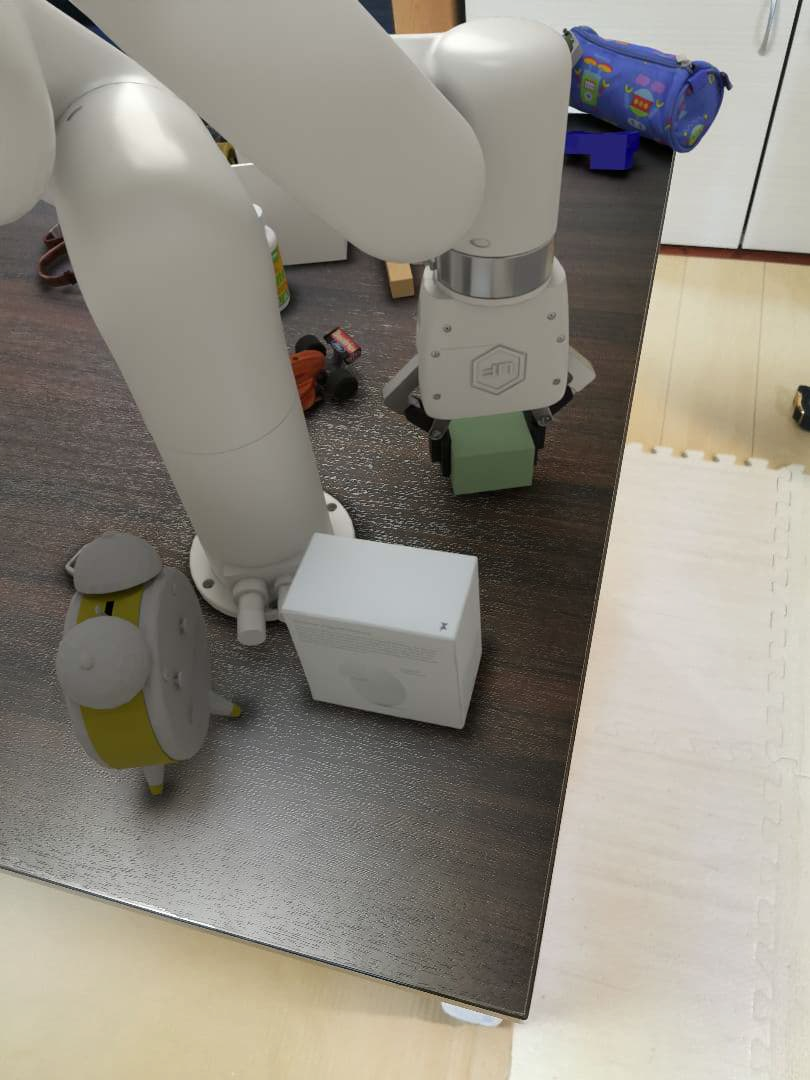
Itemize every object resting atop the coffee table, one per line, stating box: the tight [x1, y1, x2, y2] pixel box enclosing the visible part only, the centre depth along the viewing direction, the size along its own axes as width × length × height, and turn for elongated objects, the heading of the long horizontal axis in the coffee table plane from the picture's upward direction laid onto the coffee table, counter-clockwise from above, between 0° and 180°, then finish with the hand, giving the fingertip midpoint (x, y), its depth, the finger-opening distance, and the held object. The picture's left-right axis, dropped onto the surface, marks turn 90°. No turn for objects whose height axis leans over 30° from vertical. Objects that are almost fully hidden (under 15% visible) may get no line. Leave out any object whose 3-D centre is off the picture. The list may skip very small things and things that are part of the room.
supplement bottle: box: [253, 204, 291, 312], centre depth 81 cm, size 5×5×10 cm
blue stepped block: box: [564, 130, 641, 171], centre depth 95 cm, size 8×4×4 cm
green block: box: [448, 411, 535, 496], centre depth 65 cm, size 6×6×4 cm
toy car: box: [289, 326, 362, 412], centre depth 73 cm, size 8×16×4 cm, turn 122°
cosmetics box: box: [281, 533, 483, 730], centre depth 53 cm, size 10×6×10 cm, turn 75°
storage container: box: [231, 147, 348, 266], centre depth 92 cm, size 25×11×11 cm, turn 1°
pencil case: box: [561, 25, 734, 154], centre depth 97 cm, size 22×9×10 cm, turn 38°
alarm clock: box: [54, 530, 242, 796], centre depth 50 cm, size 12×7×15 cm, turn 5°
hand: (485, 457), depth 66 cm, fingers closed on green block, 6 cm apart
